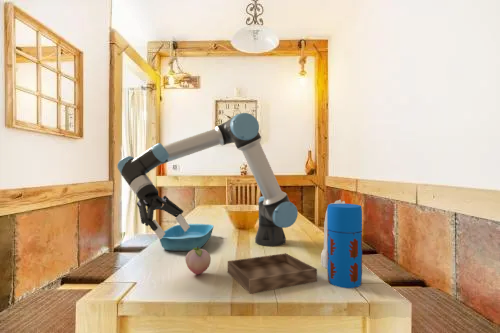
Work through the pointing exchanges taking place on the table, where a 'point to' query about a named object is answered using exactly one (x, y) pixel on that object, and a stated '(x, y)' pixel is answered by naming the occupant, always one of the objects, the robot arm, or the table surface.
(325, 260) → the decorative vase
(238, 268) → the walnut tray
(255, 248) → the table surface
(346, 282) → the thermos
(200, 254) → the decorative fruit
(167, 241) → the casserole dish
